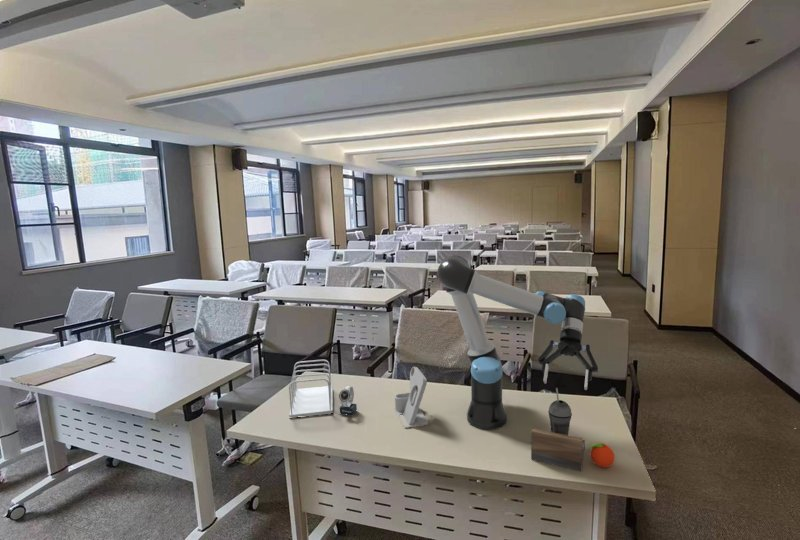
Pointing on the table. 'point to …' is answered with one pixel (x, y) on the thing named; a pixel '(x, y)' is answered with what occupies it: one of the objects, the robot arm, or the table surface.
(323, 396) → the file sorter
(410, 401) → the phone holder
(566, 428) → the beverage cup
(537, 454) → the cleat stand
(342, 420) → the table surface
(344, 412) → the webcam
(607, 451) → the clementine
